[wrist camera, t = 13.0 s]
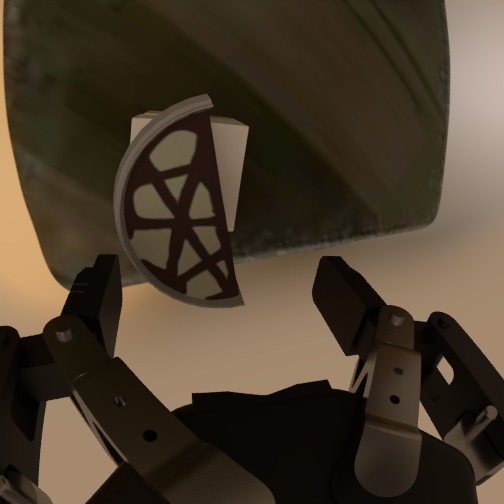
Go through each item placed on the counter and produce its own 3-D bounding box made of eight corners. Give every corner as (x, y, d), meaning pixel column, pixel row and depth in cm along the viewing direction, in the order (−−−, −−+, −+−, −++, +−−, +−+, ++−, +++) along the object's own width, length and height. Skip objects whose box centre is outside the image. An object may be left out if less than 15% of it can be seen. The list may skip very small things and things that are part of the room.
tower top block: (237, 121, 27) (248, 126, 23) (225, 210, 31) (233, 231, 27) (140, 114, 25) (132, 118, 21) (135, 206, 29) (128, 227, 25)
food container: (116, 112, 20) (78, 125, 12) (196, 94, 21) (211, 93, 12) (151, 254, 26) (147, 333, 18) (220, 238, 27) (245, 312, 19)
